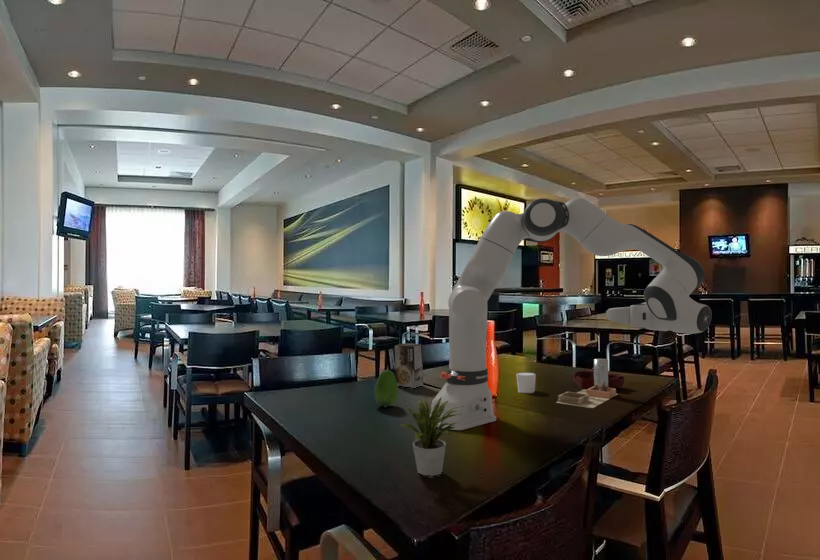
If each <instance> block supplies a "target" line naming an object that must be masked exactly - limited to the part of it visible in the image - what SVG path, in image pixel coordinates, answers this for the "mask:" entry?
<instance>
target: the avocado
mask: <svg viewBox="0 0 820 560" xmlns="http://www.w3.org/2000/svg"><path fill="white" fill-rule="evenodd" d="M373 395H374V400H375V402H376V404H377V405H378V406H380V407H381V406H390V407H392V406H394V404H395V403H396V401H397V400H398V397H399V387H398V385H397V381H396V374H395V373H394V372H393V370H392V371H391V370H389V369H384V370H382V371H381V373H380V374H379V375H378V378H377V380H376V383H375V386H374V389H373Z"/></svg>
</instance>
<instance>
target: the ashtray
mask: <svg viewBox="0 0 820 560" xmlns="http://www.w3.org/2000/svg"><path fill="white" fill-rule="evenodd" d="M572 379H573V382H574V383H575V384H576V385H577V387H578V388H579V389H581V390H584V389H585V390H587V389H589V388H591V387H593V386H594V370H586V369H585V370H579V371H574V372H573V374H572ZM624 383H625V376H624V375H620V374H617V373H608V388H615V389H618V390H620V389H621V388H622V387H623V386H624Z"/></svg>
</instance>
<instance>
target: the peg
mask: <svg viewBox="0 0 820 560" xmlns="http://www.w3.org/2000/svg"><path fill="white" fill-rule="evenodd" d="M593 371H594V390H597V391H604V392H608V374H609V359H607V358H594V359H593Z"/></svg>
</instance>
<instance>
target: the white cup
mask: <svg viewBox="0 0 820 560" xmlns="http://www.w3.org/2000/svg"><path fill="white" fill-rule="evenodd" d="M515 374H516V384H517V392H518V393H519V394H520V393H522V394H533V393H535V390H536V380H537V379H536V378H537V377H536V376H537V375H536V373H534V372H527V371H526V372H525V371H523V372H517V373H515Z"/></svg>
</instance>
